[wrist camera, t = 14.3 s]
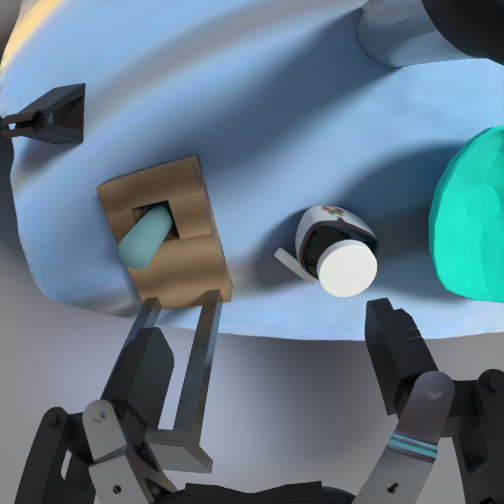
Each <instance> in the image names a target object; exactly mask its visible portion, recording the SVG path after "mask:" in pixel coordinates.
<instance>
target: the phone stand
mask: <svg viewBox="0 0 504 504" xmlns="http://www.w3.org/2000/svg"><path fill="white" fill-rule="evenodd" d="M84 99H85V83H82V84H76V85H69V86H63V87H58V88H54V89H52V90H50V91H49V92H47V93H46V94H44V95H43V96H41V97H40V98H38V99H37V100H35V101H34V102H32V103H31V104H30V105H28V106H27V107H25V108H24V109H23V110H21V111H20V112H19V113H17V114H12V115H8V116H6V117H5V118H4V119H3V121H2V123H1V125H7V124H12V123H15V124H16V125H15V129H12V130H6V131H2V132H1V133H2V135H3V136H4V137H5V138H11V137H18V136H24V137H28V138H32V139H36V140H40V141H44V142H48V143H52V144H57V143H78V142H83V128H84V114H83V112H84ZM52 112H53V125H51V124H49V122H48V117H49V115H50V113H52Z"/></svg>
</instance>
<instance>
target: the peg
mask: <svg viewBox="0 0 504 504" xmlns="http://www.w3.org/2000/svg"><path fill="white" fill-rule="evenodd" d="M174 223H175V220H174V217H173V214H172V211H171V208H170V204H169V201H168V200H165V201H160V202H156V203H155V204H154V205H153V206H152V207H151V208H150V209H149V211H148V212H147V213H146V214H145V215H144V216H143V217H142V218H141V219H140V220H139V221H138V222H137V224H136V225H135V226H134V227H133V228H132V229H131V230H130V231H129V232H128V234H127V235H126V236H125V237H124V238H123V239H122V240H121V242H120V243H119V245H118V255H119V257H120V259H121V261H122V262H123V263H124V264H125V265H126V266H128V267H130V268H132V269H143V268H145V267H146V266H147V265H148V264H149V262H150V261H151V259H152V258H153V256H154V254H155V253H156V251H157V250H158V248H159V246H160V245H161V243H162V242H163V240H164V239H165V237H166V235H167V234H168V232H169V231H170V229H171V228H172V226H173V225H174Z"/></svg>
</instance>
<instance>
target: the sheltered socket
mask: <svg viewBox="0 0 504 504" xmlns="http://www.w3.org/2000/svg"><path fill="white" fill-rule="evenodd" d="M96 189H97V192H98V195H99V198H100V200H101V203H102V206H103V209H104V212H105V214H106V217H107V220H108V222H109V225H110V228H111V230H112V233H113V235H114V238H115V240H116V243H117V245H119V243H120V242H121V240H122V239H123V238H124V237H125V236H126V235H127V234H128V232H129V231H130V230H131V229H132V228H133V227H134V226H135V225H136V224H137V222H138V221H139V220H140V219H141V218H142V217H143V216H144V215H145V214H146V212H145V209H144V205H148V204H152V203H156V202H160V201H165V200H168V201H169V204H170V208H171V211H172V214H173V217H174V220H175V224H176V227H177V229H172V230H170V231H169V232H168V234H167V235H166V237H165V239H164V240H163V242H162V243H161V245H160V246H159V248H158V250H157V251H156V253H155V254H154V256H153V258H152V259H151V261H150V262H149V264H148V265H147V266H146V267H145V268H143V269H132V268H130V267H128V266H126V267H127V269H128V271H129V274H130V276H131V278H132V280H133V283H134V285H135V287H136V289H137V291H138V293H139V295H140V298H141V300H142V302H143V306H142V308H141V310H140V312H139V314H138V316H137V318H136V320H135V322H134V324H133V326H132V328H131V330H130V333H129V335H128V337H127V339H126V341H125V343H124V346H123V348H122V350H123V349H124V348H125V346H126V345H127V344H128V343H129V342H130V341H134V339H135V336H136V334H137V332H138V330H139V329H140V328H149V327H154V325H155V322H156V320H157V318H158V315H159V313H160V310H161V309H170V308H180V307H190V306H199V305H203V306H202V310H201V313H200V317H199V321H198V325H197V329H196V333H195V337H194V341H193V346H192V349H191V353H190V357H189V362H188V366H187V370H186V374H185V378H184V383H183V387H182V391H181V396H180V400H179V405H178V409H177V413H176V418H175V423H174V427H173V430H166V429H157V432H147V431H146V434H145V437H144V438H145V439H146V440H147V442H148V444H149V446H150V448H151V450H152V452H153V453H154V455H155V457H156V459H157V461H158V463H159V465H160V467H161V468H162V469H166V470H174V471H184V472H195V473H211V472H212V464H213V460H212V459H211V458H210V457H209V456H208V455H207V454H206V453H205V452H204V450H203V449H202V448H201V447H200V446H199V443H200V436H201V430H202V423H203V416H204V410H205V404H206V398H207V392H208V385H209V379H210V373H211V366H212V361H213V355H214V349H215V343H216V337H217V332H218V326H219V320H220V315H221V309H222V303H224V302H231V295H232V288H233V285H232V281H231V278H230V274H229V271H228V267H227V263H226V260H225V256H224V253H223V249H222V245H221V242H220V238H219V234H218V230H217V227H216V223H215V219H214V215H213V212H212V208H211V204H210V200H209V196H208V193H207V189H206V185H205V181H204V177H203V173H202V169H201V165H200V161H199V157H198V154H197V155H193V156H189V157H185V158H181V159H177V160H173V161H169V162H165V163H162V164H158V165H154V166H151V167H147V168H144V169H140V170H137V171H134V172H130V173H127V174H124V175H121V176H118V177H114V178H111V179H109V180H107V181H105V182H104V183H102V184H101V185H99V186H98V187H96ZM122 350H121V352H122ZM121 352H120V354H121ZM120 354H119V356H118V359H119V357H120ZM118 359H117V361H116V363H117V362H118ZM116 363H115V365H114V367H113V370H115V366H116ZM113 370H112V372H111V374H110V377H111V375H112V373H113ZM110 377H109V379H108V381H107V384H108V382H109V380H110ZM107 384H106V386H105V388H104V391H103V393H102V396H101V398H100V400H101V399H102V397H103V394H104V392H105V389H106V387H107Z"/></svg>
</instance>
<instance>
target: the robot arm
mask: <svg viewBox="0 0 504 504" xmlns="http://www.w3.org/2000/svg"><path fill="white" fill-rule="evenodd" d="M361 10H362V14H361V16H360V18H359V20H358V23H357V34H358V39H359V41H360V43H361V45H362V47H363V48H364V50H365V51H366V52H367V53H368V54H369V55H370V56H371V57H372V58H373V59H374V60H376V61H377V62H379V63H381V64H383V65H386V66H389V67H405V66H411V65H417V64H424V63H431V62H440V61H449V60H460V59H475V58H487V59H490V60H492V61H494V62H497V63H499V64H501V65H504V0H369V1H367V2H366V3H365V4H364V5H363V6H361ZM365 340H366V345H367V348H368V351H369V354H370V357H371V360H372V364H373V367H374V370H375V373H376V376H377V380H378V383H379V387H380V390H381V393H382V397H383V400H384V404H385V408H386V411H387V415H392V414H396V413H397V417H398V420H399V422H398V424H397V426H396V428H395V430H394V432H393V434H392V436H391V438H390V440H389V442H388V444H387V446H386V447H385V450H384V451H383V453H382V455H381V457H380V458H379V460H378V462H377V464H376V465H375V467H374V469H373V471H372V472H371V474H370V476H369V477H368V479H367V480H366V482H365V484H364V485H363V487H362V488H361V490H360V491H359V493H358V494H357V496H355V495H353V494H351V493H349V492H346V491H344V490H341V489H338V488H332V487H325V486H322V484H321V481H316V482H307V483H298V484H287V485H283V486H280V487H276V488H272V489H268V490H265V491H261V492H257V493H244V492H240V491H236V490H232V489H228V488H224V487H221V486H217V485H203V484H192V483H186V487H185V489H184V490H180V491H178V490H177V488H176V487H175V486H174V484H173V483H172V482H171V481H170V480H169V479H168V478H167V476H166V475H165V474H164V472H163V470H162V468H161V467H160V465H159V463H158V461H157V459H156V457H155V455H154V453H153V452H152V450H151V448H150V446H149V444H148V442H147V440H146V439H145V438H144V437H145V434H146V431H147V432H157V428H158V424H159V420H160V416H161V413H162V409H163V405H164V401H165V397H166V394H167V390H168V386H169V382H170V378H171V375H172V371H173V368H174V356H173V353H172V350H171V349H170V347H169V345H168V343H167V341H166V339H165V338H164V335H163V334H162V332H161V330H160V329H159V328H158V327H149V328H140V329H139V330H138V332H137V334H136V336H135V339H134V341H130V342H129V343H128V344H127V345H126V346H125V348H124V349H123V350H122V352H121V354H120V357H119V359H118V362H117V363H116V366H115V370H113V373H112V375H111V377H110V380H109V382H108V384H107V387H106V389H105V392H104V394H103V397H102V399H101V400H96V401H93V402H92V403H90V404H89V405H88V406H87V407H86V409H85V410H84V412H82V413H76V414H68V413H67V412H66V411H65V410H64V409H63V408H61V407H54V408H51V409H49V410H48V411H47V412H46V413H45V414H44V416H43V418H42V421H41V423H40V426H39V428H38V431H37V433H36V436H35V439H34V441H33V444H32V447H31V450H30V453H29V456H28V458H27V461H26V464H25V468H24V471H23V474H22V477H21V481H20V484H19V488H18V491H17V495H16V499H15V503H14V504H94V500H95V494H96V493H97V495H98V498H99V500H100V503H101V504H414V503H415V501H416V500H417V498H418V496H419V494H420V492H421V490H422V488H423V486H424V484H425V482H426V480H427V477H428V475H429V473H430V471H431V469H432V466H433V464H434V462H435V459H436V456H437V451H436V448H437V445H438V442H439V439H440V438H441V437H452V439H453V443H454V448H455V451H456V456H457V460H458V464H459V469H460V473H461V479H462V483H463V489H464V495H465V502H466V504H504V372H502V371H500V370H497V369H490V370H487V371H485V372H483V373H482V374H481V375H480V377H479V379H478V380H470V381H468V380H467V381H455V380H452V379H451V378H450V377H449V376H448V375H447V374H445V373H443V372H440V371H439V370H438V368H437V366H436V364H435V362H434V360H433V358H432V356H431V354H430V352H429V350H428V348H427V346H426V344H425V342H424V340H423V338H422V337H421V334H420V332H419V330H418V329H417V326H416V324H415V322H414V320H413V318H412V317H411V316H410V315H409V314H408V313H407V312H405V311H404V310H403V309H402V308H401V309H397V310H394V309H393V307H392V305H391V303H390V301H389V300H388V298H381V299H376V300H371V301H368V302H367V306H366V320H365ZM67 450H68V451H69V452H70V453H72V456H71V459H70V462H69V466H68V469H67V473H66V477H65V480H64V479H63V478H62V475H61V468H62V464H63V461H64V458H65V454H66V451H67Z"/></svg>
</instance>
